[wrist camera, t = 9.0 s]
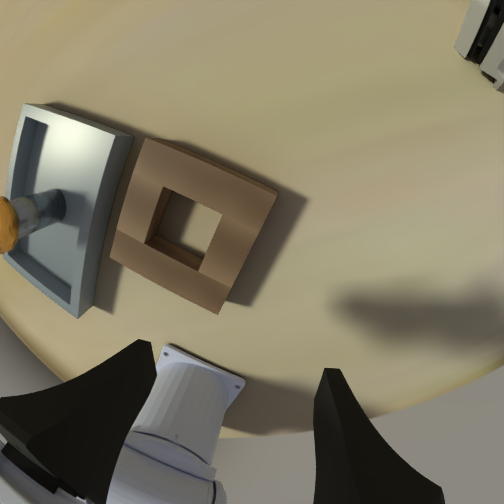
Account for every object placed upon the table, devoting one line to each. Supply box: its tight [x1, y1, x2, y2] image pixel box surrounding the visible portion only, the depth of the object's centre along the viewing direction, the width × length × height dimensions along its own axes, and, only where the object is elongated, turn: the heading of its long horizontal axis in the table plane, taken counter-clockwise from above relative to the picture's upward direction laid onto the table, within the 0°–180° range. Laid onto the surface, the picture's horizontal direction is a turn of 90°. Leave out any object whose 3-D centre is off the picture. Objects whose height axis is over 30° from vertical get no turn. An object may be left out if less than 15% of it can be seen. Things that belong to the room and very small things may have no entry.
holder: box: [110, 138, 278, 315], centre depth 18 cm, size 9×9×2 cm
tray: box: [3, 103, 134, 319], centre depth 19 cm, size 16×12×2 cm
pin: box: [0, 188, 66, 254], centre depth 16 cm, size 4×4×7 cm
